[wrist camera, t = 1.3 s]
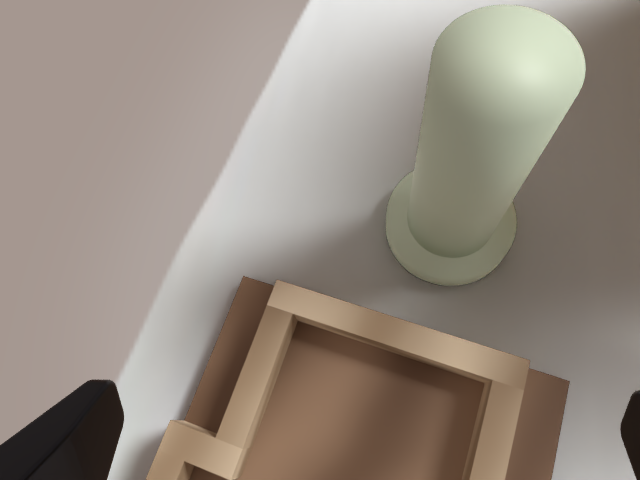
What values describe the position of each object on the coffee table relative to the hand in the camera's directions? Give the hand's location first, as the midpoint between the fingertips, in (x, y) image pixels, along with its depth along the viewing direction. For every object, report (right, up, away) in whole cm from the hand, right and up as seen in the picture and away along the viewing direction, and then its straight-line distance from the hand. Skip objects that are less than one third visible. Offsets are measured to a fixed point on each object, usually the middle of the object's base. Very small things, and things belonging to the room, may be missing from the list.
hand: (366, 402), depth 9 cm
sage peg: (+5, +3, +16) cm, 17 cm away
